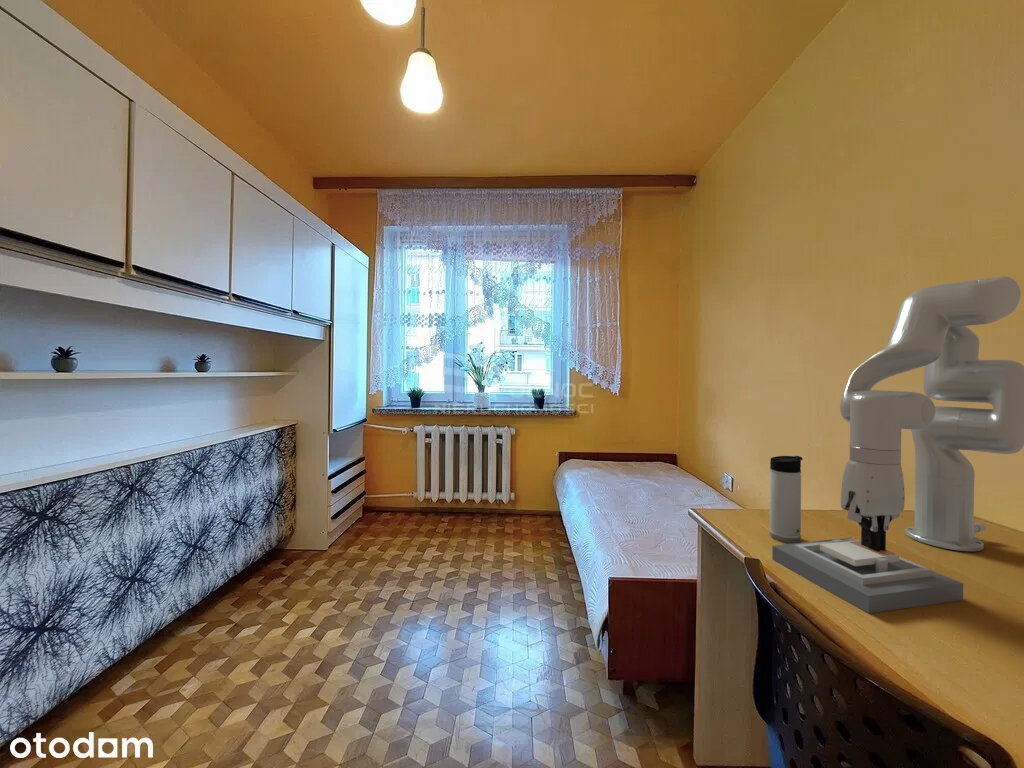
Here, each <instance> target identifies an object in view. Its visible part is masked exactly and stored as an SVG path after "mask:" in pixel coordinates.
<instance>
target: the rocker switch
mask: <svg viewBox="0 0 1024 768" xmlns="http://www.w3.org/2000/svg"><path fill="white" fill-rule="evenodd" d="M856 540H857V541H847V542H837V543H827V544H820V550H821V551H823V552H825V553H827V554H830V555H832V556H834V557H836V558H838V559H840V560H842V561H845V562H847V563H849V564H851V565H853V566H862V565H871V564H876V559H879V558H884V559H887V560H888V563H889V562H898V561H899V557H900V555H899V554H897V553H894V552H892V551H890V550H887V549H886V551H881V550H880V551H876V550H873V549H871V548H868V547H866V546H863V545H861V539H856Z"/></svg>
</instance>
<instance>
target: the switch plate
mask: <svg viewBox="0 0 1024 768" xmlns="http://www.w3.org/2000/svg"><path fill="white" fill-rule="evenodd" d="M857 540H858V539H856V538H852V537H844V538H843V537H842V538H833V539H824V540H814V541H804V542H797V543H787V544H786V543H785V544H778V545H777V544H776V545H772V557H771V558H772V560H773V561H774V560H775V561H774V562H776V561H777V563H778V564H780V565H781V566H783V567H785V568H787V569H789V570H790V571H792V572H794V573H795V574H798V575H800V576H801V577H803V578H805V580H808V581H810V582H811V583H813V584H815V585H817V586H819V587H820V588H823V589H824V590H826V591H828V592H830V593H832V594H833V595H835V596H836V597H839V598H840V599H842V600H844V601H846V602H847V603H848V604H851V605H853V606H855V607H856V608H858V609H860V610H861V611H863V612H865V613H867V614H873V613H874V614H875V613H882V612H888V611H889V612H890V611H896V610H903V609H910V608H917V607H923V606H929V605H936V604H937V605H938V604H939V605H940V604H944V603H951V602H952V603H953V602H960V601H964V583H963V582H961V581H959V580H956V579H954V578H952V577H950V576H946V575H944V574H942V573H940V572H936V571H934V570H932V569H931V568H928V567H925V566H923V565H921V564H918V563H915V562H913V561H911V560H909V559H906V558H904V557H901V556H899V561H898V562H889V563H888V560H887V559H884V558H879V559H876V564H871V565H862V566H853V565H851V564H849V563H847V562H845V561H842V560H840V559H838V558H836V557H834V556H832V555H830V554H827V553H825V552H823V551H821V550H820V544H827V543H837V542H847V541H857Z"/></svg>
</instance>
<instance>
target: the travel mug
mask: <svg viewBox="0 0 1024 768" xmlns="http://www.w3.org/2000/svg"><path fill="white" fill-rule="evenodd" d="M769 460H770V461H769V464H770V465H769V536H770V537H771V538H772V537H773V538H772V539H774V540H776V541H780V542H783V543H787V544H794V543H800V541H801V539H802V538H801V537H802V535H801V533H802V531H801V529H802V528H801V527H802V522H801V521H802V520H801V519H802V516H801V515H802V470H801V467H802V463H801V462H802V461H803V457H802V456H799V455H778V456H773V457H771V458H770V459H769Z"/></svg>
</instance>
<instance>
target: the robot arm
mask: <svg viewBox="0 0 1024 768" xmlns="http://www.w3.org/2000/svg"><path fill="white" fill-rule="evenodd" d="M1021 296H1022V294H1021V288H1020V286H1019V283H1018V282H1017V281H1015V279H1013V278H1012V277H1009V276H996V277H995V276H994V277H989V278H982V279H974V280H973V279H972V280H966V281H958V282H951V283H944V284H938V285H931V286H928V287H927V286H926V287H924V288H919V289H917V290H915V291H913V292H912V293H911V294H909V295H908V296H906V297H905V298H904V299H903V301H902V302H901V304H900V306H899V310H898V313H897V316H896V318H895V321H894V324H893V327H892V330H891V333H890V335H889V338H888V341H887V344H886V346H885V347H884V348H883V349H881V350H879V351H878V352H876V353H875V354H873V355H872V356H870V357H868V358H867V359H866V360H865V361H863V362H862V363H861V364H859V366H857V367H856V368H855V369H854V370H853V371H852V372H851V373H850V375H849V377H848V379H847V381H846V383H845V386H844V389H843V392H842V395H841V399H840V402H839V403H840V405H839V411H840V414H841V417H842V418H843V419H844V421H846V422H848V423H849V460H848V461H846V464H845V467H844V471H843V475H842V482H841V488H840V489H841V492H840V508H841V509H842V510H845V511H848V512H847V517H846V518H847V519H848V520H850V521H853V522H856V523H857V524H858V526H859V527H860V529H861V531H860V533H861V534H860V535H861V537H860V540H861V545H863V546H866V547H868V548H871V549H873V550H876V551H880V550H881V551H886V550H887V548H886V545H887V541H886V540H887V538H886V537H887V531H889V528H890V523H891V522H892V520H893V521H894V520H896V519H897V518H900V514H901V513H903V511H904V510H905V503H906V501H905V500H906V498H905V493H906V492H905V480H904V473H903V468H902V430H910V431H911V435H912V441H913V444H914V446H913V447H914V456H915V471H914V474H915V475H914V485H915V486H914V525H910V526H907V527H906V528H905V534H906V535H907V536H908V537H909V538H911V539H913V540H915V541H917V542H919V543H923V544H925V545H926V544H927V545H930V546H934V547H936V548H937V547H938V548H942V549H947V550H952V551H958V552H979V551H982V550H984V548H985V547H984V545H985V544H984V542H983V541H982V540H980V539H978V538H976V537H975V534H977V533H980V532H981V533H982V532H986V530H987V528H986V525H984V524H983V523H981V522H975V521H974V519H975V518H974V517H975V516H974V515H975V512H974V511H975V478H976V477H975V473H976V472H975V469H974V465H973V464H972V463H971V462H970V460H969V459H968V458H967V457H966V456H965V455H964V454H963V452H961V451H973V452H979V453H980V452H982V453H991V454H1000V455H1001V454H1002V455H1012V454H1016V453H1019V452H1020V451H1021V450H1022V449H1024V365H1023V363H1020V362H1018V361H1015V360H1011V359H980V358H979V350H980V339H979V337H978V336H977V335H976V333H975V332H973V331H972V330H971V329H970V328H969V327H967V326H977V325H978V326H979V325H981V326H982V325H988V324H992V323H996V322H998V321H1000V320H1002V319H1003V318H1005V317H1008V316H1009V315H1011V314H1012V313H1013V312H1014V311H1016V309H1017V308H1018V306H1019V304H1020V301H1021ZM922 367H924V369H923V381H922V383H923V392H924V394H923V393H920V392H915V391H901V390H900V391H899V390H875V389H874V390H872V388H873V387H875V386H876V385H877V384H878V383H880V382H882V381H884V380H886V379H889V378H891V377H894V376H896V375H900V374H903V373H906V372H910V371H912V370H916V369H919V368H922ZM933 400H935V401H942V402H943V401H944V402H961V403H962V402H963V403H980V404H981V403H982V404H983V403H985V404H991V405H992V409H991V408H978V407H977V408H974V407H963V406H962V407H961V406H959V407H957V406H937V405H936V406H935V403H934V402H933ZM974 522H975V523H974Z"/></svg>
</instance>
